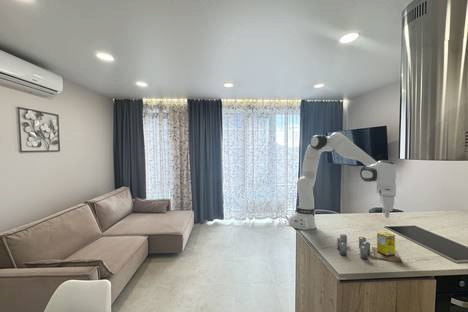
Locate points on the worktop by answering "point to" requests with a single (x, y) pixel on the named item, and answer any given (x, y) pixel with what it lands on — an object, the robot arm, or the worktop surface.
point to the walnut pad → (388, 258)
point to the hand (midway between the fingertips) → (385, 215)
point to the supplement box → (386, 243)
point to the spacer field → (363, 246)
